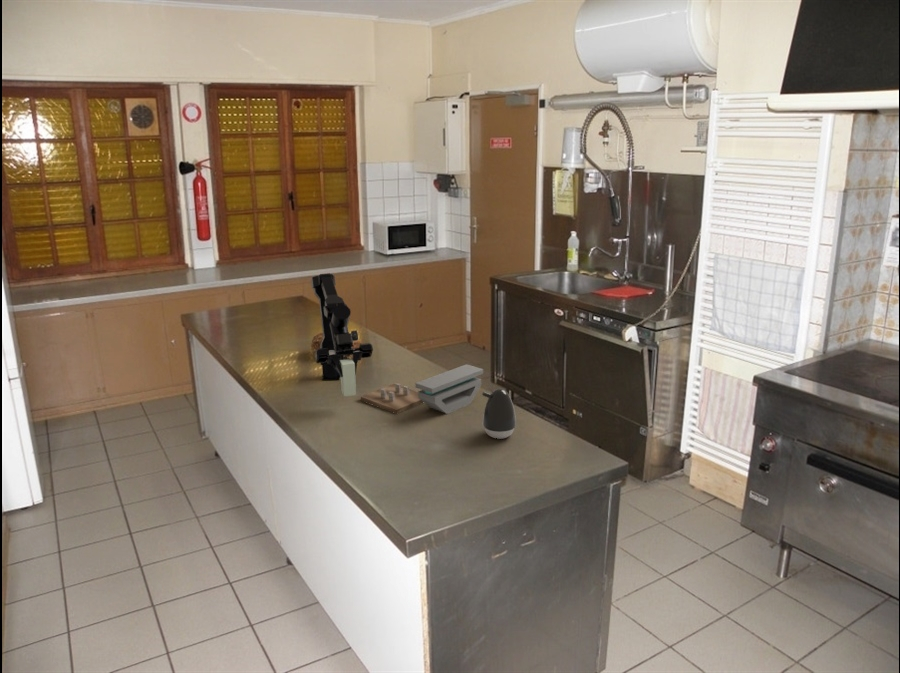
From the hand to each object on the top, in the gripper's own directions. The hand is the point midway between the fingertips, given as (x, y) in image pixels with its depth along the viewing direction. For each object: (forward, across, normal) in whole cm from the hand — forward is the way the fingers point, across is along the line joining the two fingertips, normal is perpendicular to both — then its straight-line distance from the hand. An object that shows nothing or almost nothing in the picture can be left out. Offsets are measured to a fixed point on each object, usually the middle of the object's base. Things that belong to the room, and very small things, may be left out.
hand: (348, 375), depth 228 cm
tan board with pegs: (+6, +17, +12) cm, 22 cm away
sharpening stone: (+14, +33, +4) cm, 36 cm away
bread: (-31, +6, +50) cm, 59 cm away
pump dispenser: (+33, +39, -15) cm, 54 cm away
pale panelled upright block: (+4, 0, +6) cm, 7 cm away
